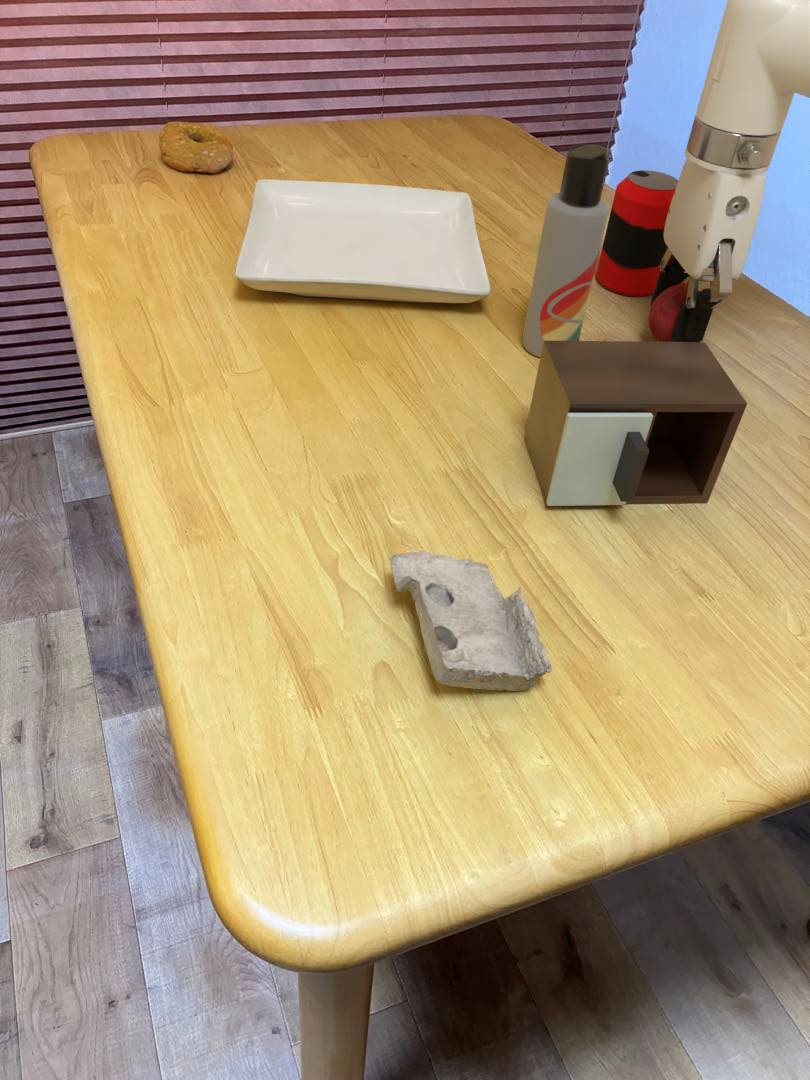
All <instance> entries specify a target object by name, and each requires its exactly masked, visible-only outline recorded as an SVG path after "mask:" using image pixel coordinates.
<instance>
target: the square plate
mask: <svg viewBox="0 0 810 1080" xmlns="http://www.w3.org/2000/svg"><path fill="white" fill-rule="evenodd" d="M474 211H475V210H474V206H473V202H472V197H471V195H470V194H469V193H467V192H464V191H452V190H443V189H430V188H421V187H411V186H399V185H388V184H387V185H386V184H373V183H358V182H342V181H341V182H340V181H339V182H338V181H316V180H315V181H313V180H289V179H288V180H286V179H268V178H267V179H264V178H261V179H258V180H257V181H256V183H255V186H254V189H253V196H252V202H251V208H250V212H249V219H248V222H247V226H246V230H245V234H244V237H243V241H242V244H241V247H240V251H239V254H238V258H237V262H236V264H235V269H234V277H235V278H236V279H237V280H239V281H240V282H242V283H243V284H244V285H246V286H247V287H249V288H251V289H254V290H257V291H263V292H266V291H267V292H275V293H276V292H277V293H289V294H292V295H295V296H302V297H315V298H334V299H353V300H372V301H385V302H386V301H387V302H402V303H417V304H428V303H443V304H444V303H445V304H469V303H474V302H475V303H476V302H478V301H480V300H482V299H484V298H486V297H488V296H490V294H491V291H492V289H491V282H490V279H489V273H488V271H487V267H486V263H485V259H484V256H483V252H482V251H483V250H482V248H481V242H480V239H479V238H480V237H479V235H478V229H477V225H476V224H477V223H476V219H475V212H474Z"/></svg>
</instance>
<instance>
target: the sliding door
mask: <svg viewBox="0 0 810 1080" xmlns="http://www.w3.org/2000/svg"><path fill="white" fill-rule="evenodd" d="M652 419H653V415H652V413H567V417H566V421H565V425H564V429H563V434H562V438H561V442H560V446H559V450H558V455H557V459H556V463H555V467H554V472H553V476H552V480H551V484H550V488H549V493H548V497H547V501H545V504H546V503H547V504H546V506H547V507H562V506H563V507H564V506H566V507H568V506H569V507H573V506H625V505H627V504H626V502H633V500H634V497H635V493H636V490H637V487H638V484H639V481H640V478H641V475H642V472H643V469H644V466H645V463H646V460H647V457H648V454H649V449H648V447H647V445H646V443H645V441H646V438H647V435H648V431H649V428H650V425H651V422H652Z"/></svg>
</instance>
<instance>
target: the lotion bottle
mask: <svg viewBox="0 0 810 1080" xmlns="http://www.w3.org/2000/svg"><path fill="white" fill-rule="evenodd" d="M610 161H611V159H610V156H609V154H608V149H607V148H606V147H605V146H602V145H598V144H586V143H582V144H576V145H573V146H572V147H570V148H569V149H568V150H567V153H566V157H565V163H564V169H563V173H562V174H563V175H562V179H561V184H560V185H561V186H560V191H559V192H557V193H554V194H552V195H551V196H550V197H549V198H548V200H547V204H546V209H545V214H544V219H543V225H542V230H541V235H540V241H539V246H538V250H537V251H538V252H537V258H536V263H535V269H534V273H533V280H532V284H531V290H530V295H529V300H528V306H527V312H526V317H525V323H524V329H523V335H522V346H523V347H524V349H525V350H526V351H527V352H528V353H529V354H531V355H533V356H534V357H537V358H539V359H540V357H541V352H542V347H543V342H544V341H580V337H581V332H582V327H583V324H584V319H585V315H586V312H587V311H586V310H587V307H588V303H589V302H588V301H589V298H590V294H591V290H592V285H593V281H594V277H595V273H596V272H595V271H596V269H597V268H596V267H597V265H598V264H597V263H598V259H599V256H600V255H599V254H600V251H601V245H602V240H603V239H604V235H605V234H604V233H605V229H606V225H607V221H608V220H607V219H608V215H609V205H608V203H607V202H605V200H604V199H602V194H603V190H604V185H605V180H606V178H607V173H608V169H609V165H610Z"/></svg>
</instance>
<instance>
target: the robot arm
mask: <svg viewBox="0 0 810 1080" xmlns="http://www.w3.org/2000/svg"><path fill="white" fill-rule="evenodd" d="M703 83H704V84H703V88H702V91H701V95H700V97H699V101H698V104H697V109H696V112H695V115H694V119H693V123H692V126H691V130H690V134H689V136H688V141H687V144H686V147H685V151H684V155H685V157H686V159H685V161H684V164H683V167H682V170H681V172H680V174H679V178H678V179H677V180H678V183H677V186H676V189H675V192H674V195H673V198H672V201H671V205H670V208H669V212H668V215H667V219H666V223H665V228H664V241H665V244H664V250H665V254H664V256H663V258H662V260H661V263H660V270H661V271H664V272H660V273H659V277H658V280H657V284H656V287H655V291H654V292H653V293H652V294H653V295H652V298H651V301H650V306H651V305H652V303H653V302H654V300H655V299H656V298H657V297H658V296H659V295H660V294H661V293H662V292H663V291H664V290H666V289H667V288H669V287H671V286H674V285H678V284H680V283H681V282H683V281H684V280H685V279H686V278H687V277H690V278H689V284H688V291H687V298H686V303H681V306H680V309H679V312H678V316H677V319H676V322H675V325H674V329H673V332H672V335H671V339H672V340H673V342H703V340H704V337H705V334H706V332H707V329H708V326H709V323H710V320H711V317H712V314H713V311H714V310H716V309H717V307H718V306H719V304H720V303H721V302H722V301H723V300H724V299H726V298H727V297H729V296H731V295H732V292H733V281H737V280H739V278H740V277H741V275H742V273H743V270H744V267H745V265H746V261H747V258H748V255H749V252H750V249H751V245H752V242H753V239H754V235H755V232H756V227H757V224H758V221H759V216H760V213H761V208H762V204H763V199H764V194H765V188H766V181H767V174H766V172H768V170H769V168H770V165H771V162H772V159H773V158H774V154H775V151H776V148H777V145H778V142H779V139H780V136H781V134H782V130H783V128H784V126H785V122H786V120H787V116H788V113H789V110H790V108H791V105H792V101H793V98H794V96H795V94H798V95H800V96H803V97H806V98H809V99H810V0H727V2H726V4H725V9H724V12H723V15H722V19H721V23H720V25H719V29H718V33H717V36H716V41H715V44H714V47H713V51H712V54H711V58H710V62H709V65H708V69H707V73H706V77H705V80H704V82H703ZM704 269H706V270H707V269H712V270H713V273H703V272H704ZM700 282H709V287H708V288H704V289H703V288H702V290H701V291H700V292H699V293H698V290H699V287H700Z"/></svg>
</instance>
